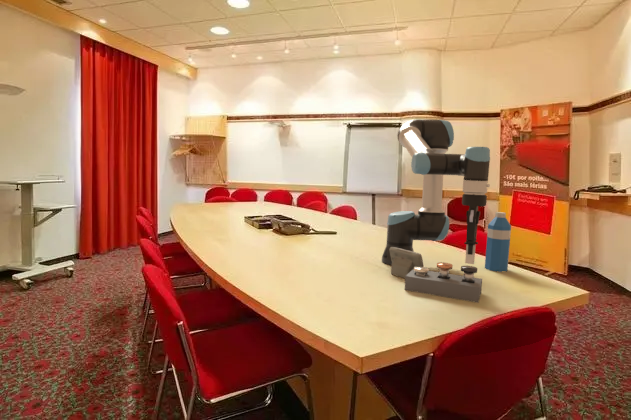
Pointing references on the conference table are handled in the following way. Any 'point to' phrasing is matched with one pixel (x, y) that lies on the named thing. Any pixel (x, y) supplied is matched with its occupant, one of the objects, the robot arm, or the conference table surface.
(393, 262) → the digital clock
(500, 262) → the water bottle
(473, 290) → the panel
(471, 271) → the plunger black
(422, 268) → the plunger ivory
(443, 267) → the plunger terracotta
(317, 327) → the conference table surface
